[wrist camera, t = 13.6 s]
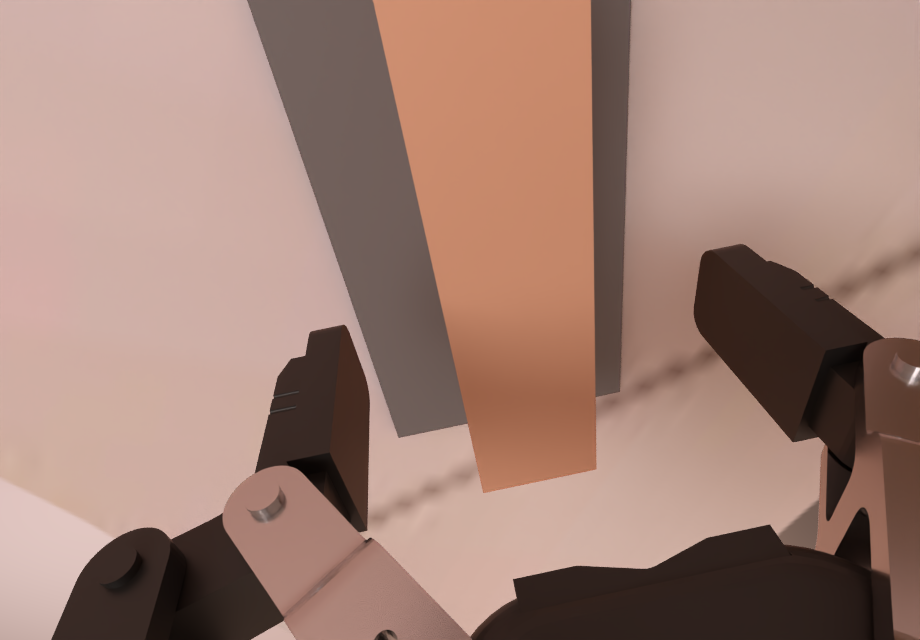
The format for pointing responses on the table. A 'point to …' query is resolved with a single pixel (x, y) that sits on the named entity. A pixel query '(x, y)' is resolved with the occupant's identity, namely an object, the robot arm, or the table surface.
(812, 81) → the table surface
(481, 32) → the terracotta block
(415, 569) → the table surface
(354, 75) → the rubber mat
